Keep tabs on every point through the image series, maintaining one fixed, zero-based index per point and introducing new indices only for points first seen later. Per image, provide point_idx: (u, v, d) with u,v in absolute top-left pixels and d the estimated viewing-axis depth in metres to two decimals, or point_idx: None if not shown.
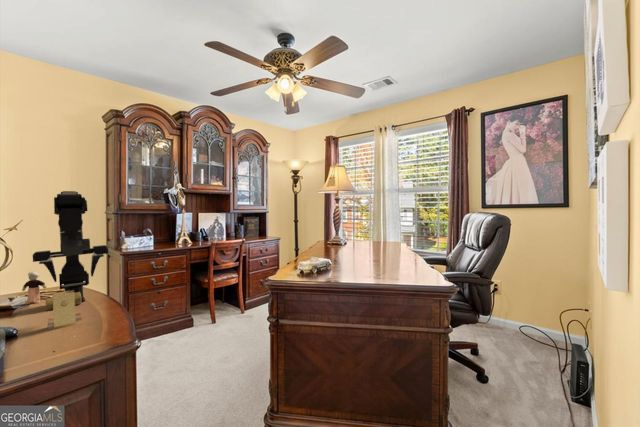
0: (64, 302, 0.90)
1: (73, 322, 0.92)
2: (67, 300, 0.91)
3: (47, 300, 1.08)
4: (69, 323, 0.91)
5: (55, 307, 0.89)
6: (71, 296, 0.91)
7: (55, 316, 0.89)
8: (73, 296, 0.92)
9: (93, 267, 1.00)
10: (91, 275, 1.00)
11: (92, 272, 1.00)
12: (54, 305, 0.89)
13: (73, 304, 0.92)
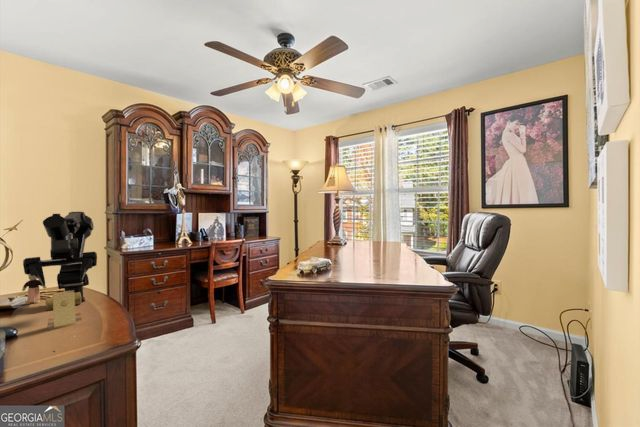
0: (64, 302, 0.90)
1: (73, 322, 0.92)
2: (67, 300, 0.91)
3: (47, 300, 1.08)
4: (69, 323, 0.91)
5: (55, 307, 0.89)
6: (71, 296, 0.91)
7: (55, 316, 0.89)
8: (73, 296, 0.92)
9: (82, 270, 1.01)
10: (80, 278, 1.00)
11: (81, 275, 1.00)
12: (54, 305, 0.89)
13: (73, 304, 0.92)
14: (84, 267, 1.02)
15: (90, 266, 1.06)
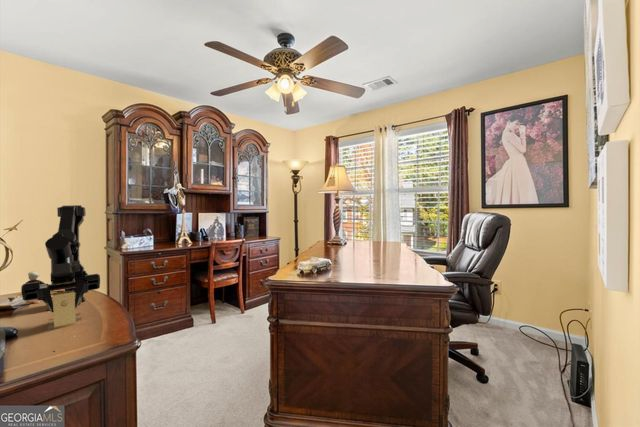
0: (64, 302, 0.90)
1: (73, 322, 0.92)
2: (67, 300, 0.91)
3: None
4: (69, 323, 0.91)
5: (55, 307, 0.89)
6: (71, 296, 0.91)
7: (55, 316, 0.89)
8: (73, 296, 0.92)
9: (77, 296, 0.93)
10: (75, 305, 0.92)
11: (76, 302, 0.93)
12: (54, 305, 0.89)
13: (73, 304, 0.92)
14: (79, 292, 0.94)
15: (86, 290, 0.98)
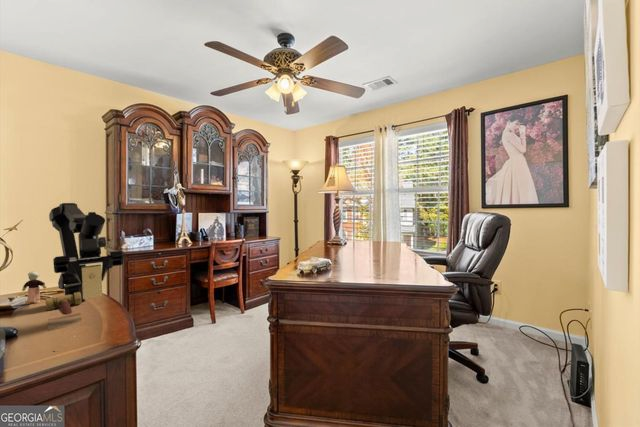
0: (92, 275, 0.96)
1: (100, 294, 0.98)
2: (94, 273, 0.97)
3: (47, 300, 1.08)
4: (96, 295, 0.97)
5: (84, 279, 0.95)
6: (98, 270, 0.98)
7: (84, 287, 0.95)
8: (100, 269, 0.98)
9: (103, 270, 1.00)
10: None
11: (102, 275, 0.99)
12: (83, 277, 0.95)
13: (100, 277, 0.98)
14: (105, 267, 1.01)
15: (110, 266, 1.05)
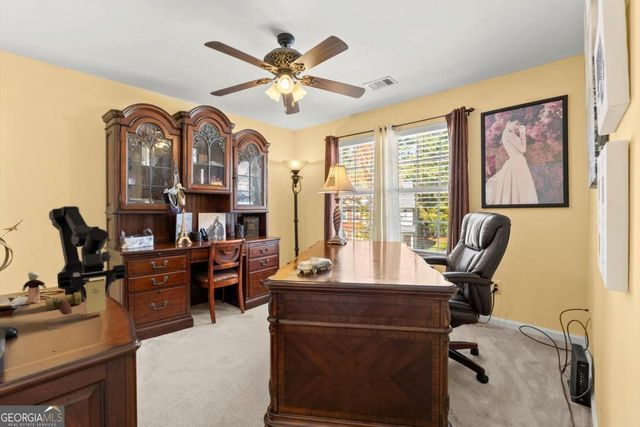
0: (96, 290, 0.97)
1: (104, 308, 0.99)
2: (98, 288, 0.98)
3: (47, 300, 1.08)
4: (100, 309, 0.98)
5: (88, 294, 0.96)
6: (102, 284, 0.99)
7: (88, 302, 0.96)
8: (104, 284, 0.99)
9: (107, 285, 1.01)
10: (105, 292, 0.99)
11: (106, 289, 1.00)
12: (87, 292, 0.96)
13: (104, 292, 0.99)
14: (108, 281, 1.01)
15: (113, 280, 1.05)
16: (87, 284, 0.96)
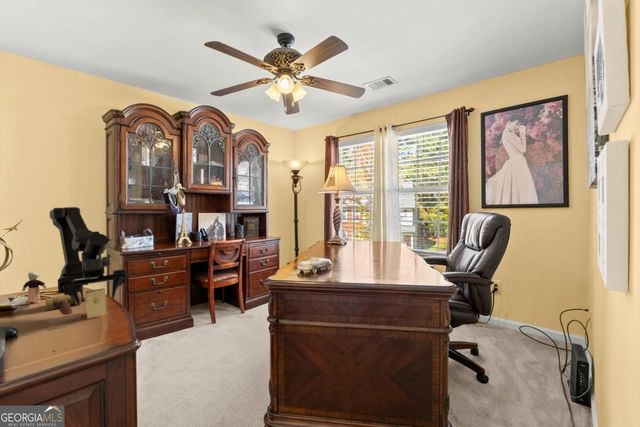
0: (96, 299, 0.97)
1: None
2: (99, 297, 0.98)
3: (47, 300, 1.08)
4: None
5: (88, 303, 0.96)
6: (102, 294, 0.99)
7: (88, 312, 0.96)
8: (104, 294, 0.99)
9: (114, 288, 1.02)
10: (112, 296, 1.00)
11: (113, 293, 1.01)
12: (87, 302, 0.96)
13: (104, 301, 0.99)
14: (115, 285, 1.03)
15: (120, 283, 1.07)
16: (87, 294, 0.96)
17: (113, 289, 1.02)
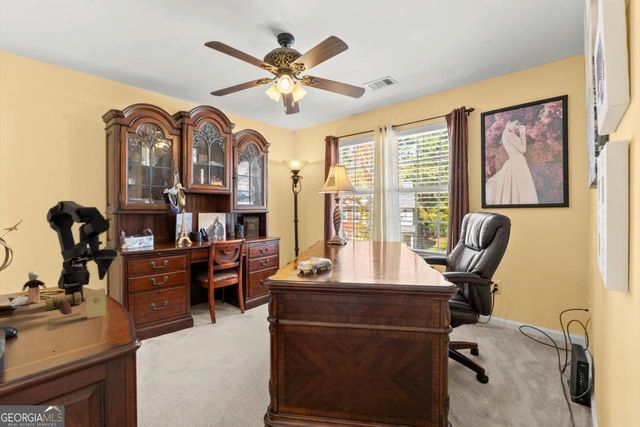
0: (96, 299, 0.97)
1: None
2: (99, 297, 0.98)
3: (47, 300, 1.08)
4: None
5: (88, 303, 0.96)
6: (102, 294, 0.99)
7: (88, 312, 0.96)
8: (104, 294, 0.99)
9: (98, 270, 1.03)
10: (99, 278, 1.03)
11: (99, 275, 1.03)
12: (87, 302, 0.96)
13: (104, 301, 0.99)
14: (99, 267, 1.03)
15: (111, 259, 1.06)
16: (87, 294, 0.96)
17: (98, 271, 1.03)
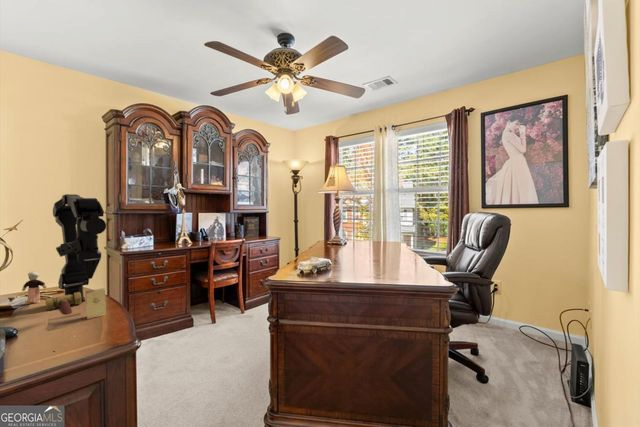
0: (96, 299, 0.97)
1: None
2: (99, 297, 0.98)
3: (47, 300, 1.08)
4: None
5: (88, 304, 0.96)
6: (102, 294, 0.99)
7: (88, 312, 0.96)
8: (104, 294, 0.99)
9: (85, 270, 1.01)
10: (87, 277, 1.02)
11: (86, 275, 1.02)
12: (87, 302, 0.96)
13: (104, 301, 0.99)
14: (84, 267, 1.01)
15: (95, 260, 1.01)
16: (87, 294, 0.96)
17: (85, 271, 1.02)
